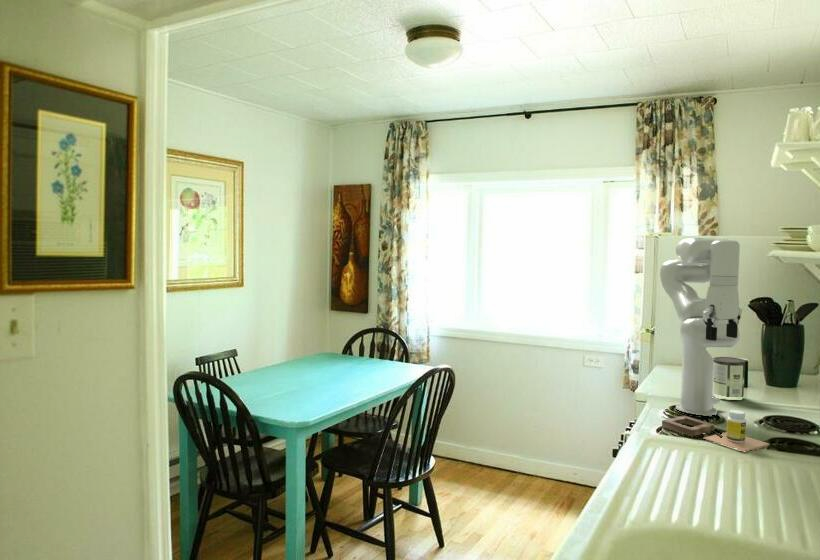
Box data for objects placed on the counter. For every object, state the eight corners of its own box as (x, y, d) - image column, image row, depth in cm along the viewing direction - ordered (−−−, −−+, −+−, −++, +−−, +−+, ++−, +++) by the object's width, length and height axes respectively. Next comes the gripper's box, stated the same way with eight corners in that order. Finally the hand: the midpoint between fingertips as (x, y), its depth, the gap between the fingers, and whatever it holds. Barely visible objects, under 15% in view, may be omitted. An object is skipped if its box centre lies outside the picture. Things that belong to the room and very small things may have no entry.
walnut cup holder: (684, 422, 189) (684, 415, 189) (714, 431, 180) (714, 424, 180) (661, 427, 184) (662, 420, 184) (691, 437, 175) (692, 430, 175)
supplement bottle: (742, 444, 168) (744, 415, 167) (724, 440, 171) (725, 411, 170) (747, 440, 171) (748, 411, 170) (728, 436, 174) (730, 408, 174)
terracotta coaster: (729, 433, 179) (729, 431, 179) (769, 445, 168) (769, 443, 168) (703, 439, 173) (703, 437, 173) (743, 453, 163) (743, 450, 163)
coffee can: (722, 392, 225) (724, 355, 224) (749, 398, 217) (751, 360, 216) (705, 396, 220) (707, 358, 219) (732, 402, 211) (734, 363, 210)
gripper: (730, 279, 185) (727, 334, 186) (693, 282, 177) (691, 339, 178) (753, 281, 178) (751, 338, 180) (717, 283, 170) (714, 343, 172)
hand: (721, 338), depth 179 cm, fingers open, 9 cm apart
